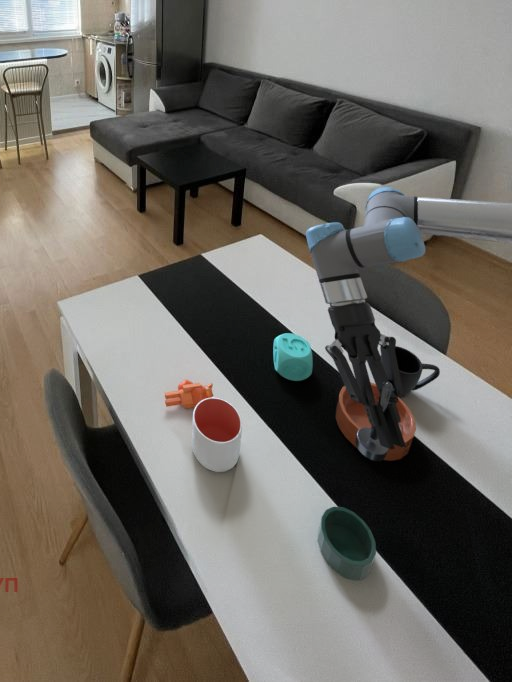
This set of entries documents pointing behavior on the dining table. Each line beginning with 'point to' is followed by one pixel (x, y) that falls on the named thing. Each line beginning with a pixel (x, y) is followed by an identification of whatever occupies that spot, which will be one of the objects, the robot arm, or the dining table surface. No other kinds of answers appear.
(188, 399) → the orange toy figurine
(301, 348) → the decorative dice
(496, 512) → the dining table surface
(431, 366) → the mug
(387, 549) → the dining table surface
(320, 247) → the robot arm
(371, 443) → the ladle
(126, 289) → the dining table surface
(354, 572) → the faceted green pot
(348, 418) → the bowl
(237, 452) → the cup
